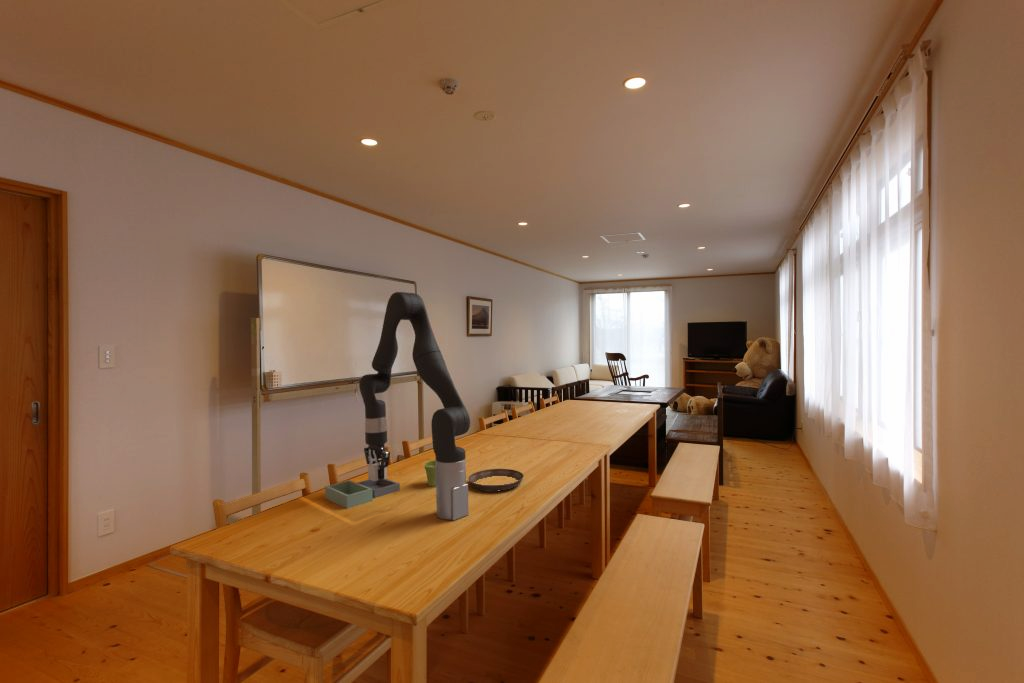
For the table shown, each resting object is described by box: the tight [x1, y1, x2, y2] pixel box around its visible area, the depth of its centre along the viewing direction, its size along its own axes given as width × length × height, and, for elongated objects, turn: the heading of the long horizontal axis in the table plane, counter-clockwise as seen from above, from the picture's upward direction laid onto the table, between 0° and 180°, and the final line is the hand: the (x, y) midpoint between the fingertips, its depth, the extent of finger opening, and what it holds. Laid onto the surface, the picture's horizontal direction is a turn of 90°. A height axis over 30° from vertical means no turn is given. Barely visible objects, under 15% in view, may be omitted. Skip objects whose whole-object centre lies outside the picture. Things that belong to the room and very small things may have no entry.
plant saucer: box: [467, 468, 525, 492], centre depth 175 cm, size 21×21×3 cm
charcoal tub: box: [356, 478, 401, 499], centre depth 167 cm, size 13×10×4 cm
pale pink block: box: [367, 462, 388, 481], centre depth 167 cm, size 4×5×5 cm
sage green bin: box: [324, 479, 374, 509], centre depth 158 cm, size 15×9×5 cm, turn 48°
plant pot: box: [422, 459, 436, 488], centre depth 173 cm, size 9×9×9 cm
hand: (377, 477), depth 167 cm, fingers closed on pale pink block, 4 cm apart
